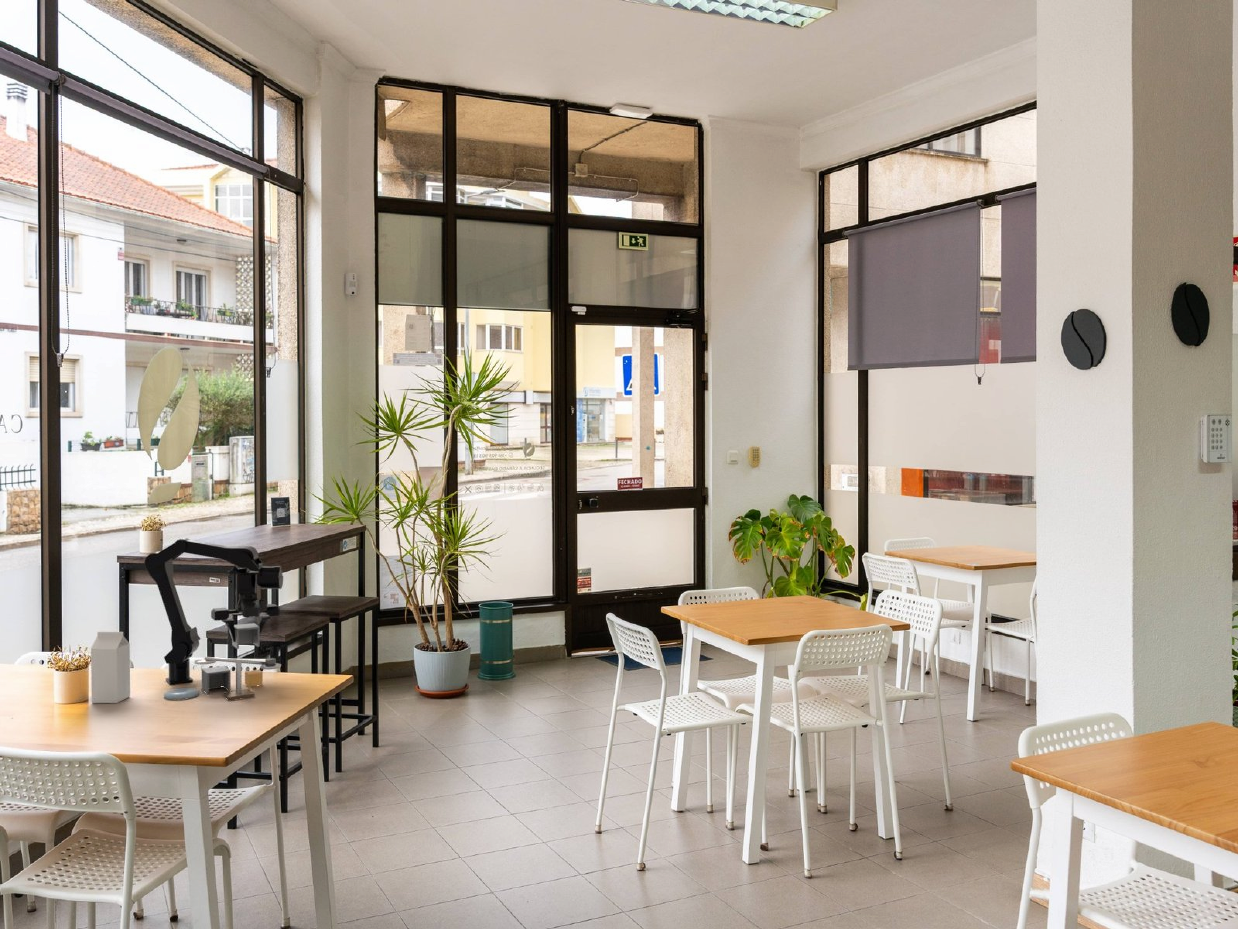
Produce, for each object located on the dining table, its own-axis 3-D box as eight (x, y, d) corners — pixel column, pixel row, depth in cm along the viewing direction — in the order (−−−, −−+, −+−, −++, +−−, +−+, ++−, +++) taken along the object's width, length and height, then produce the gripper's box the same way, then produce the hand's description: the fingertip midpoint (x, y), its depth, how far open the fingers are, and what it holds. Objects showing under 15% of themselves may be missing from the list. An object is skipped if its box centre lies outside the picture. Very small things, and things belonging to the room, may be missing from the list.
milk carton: (117, 703, 273) (116, 634, 272) (91, 703, 273) (90, 634, 272) (130, 697, 280) (129, 629, 279) (105, 696, 280) (104, 629, 280)
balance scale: (192, 700, 276) (192, 656, 276) (277, 688, 290) (277, 646, 289) (197, 705, 272) (197, 660, 271) (283, 692, 285) (283, 649, 285)
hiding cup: (232, 645, 300) (232, 625, 300) (254, 642, 304) (254, 623, 304) (237, 649, 295) (237, 628, 295) (259, 646, 299) (259, 626, 298)
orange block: (244, 685, 294) (244, 671, 294) (258, 683, 296) (258, 669, 296) (248, 687, 291) (248, 674, 291) (262, 685, 293) (262, 672, 293)
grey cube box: (201, 689, 288) (201, 668, 288) (225, 686, 292) (224, 665, 292) (207, 694, 283) (206, 673, 283) (230, 691, 287) (230, 670, 287)
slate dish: (161, 694, 283) (161, 691, 282) (194, 690, 288) (194, 686, 288) (167, 701, 275) (167, 698, 275) (202, 696, 280) (202, 693, 280)
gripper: (219, 595, 287) (218, 649, 288) (285, 590, 297) (284, 642, 298) (210, 589, 297) (210, 642, 297) (275, 585, 307) (274, 636, 307)
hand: (245, 640), depth 300 cm, fingers closed on hiding cup, 6 cm apart
